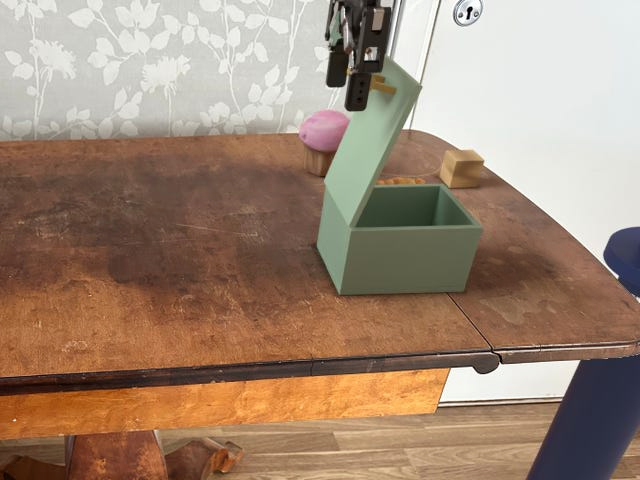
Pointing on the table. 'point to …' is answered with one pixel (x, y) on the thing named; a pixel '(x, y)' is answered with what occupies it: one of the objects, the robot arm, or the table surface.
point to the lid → (371, 139)
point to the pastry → (400, 181)
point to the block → (461, 168)
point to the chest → (400, 242)
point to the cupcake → (322, 139)
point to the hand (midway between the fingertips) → (344, 98)
